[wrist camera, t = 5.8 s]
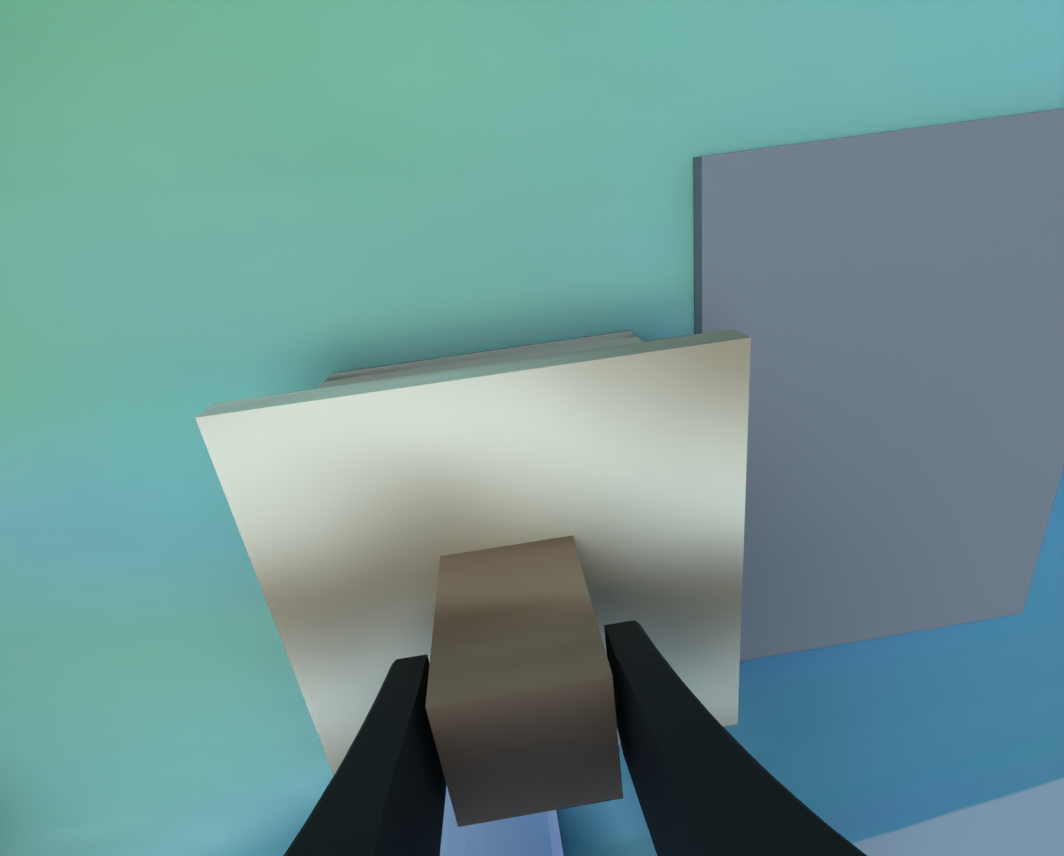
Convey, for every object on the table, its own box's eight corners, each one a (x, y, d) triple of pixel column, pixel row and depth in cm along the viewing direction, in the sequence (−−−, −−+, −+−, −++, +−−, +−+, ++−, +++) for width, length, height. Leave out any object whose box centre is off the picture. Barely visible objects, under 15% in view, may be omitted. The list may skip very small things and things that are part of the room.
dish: (642, 571, 20) (691, 681, 16) (397, 611, 20) (374, 735, 15) (629, 330, 17) (688, 380, 12) (331, 373, 16) (276, 442, 12)
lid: (725, 700, 16) (819, 888, 12) (347, 764, 16) (297, 984, 11) (733, 328, 12) (886, 407, 7) (213, 403, 11) (49, 533, 7)
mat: (1008, 603, 23) (1021, 613, 22) (696, 655, 22) (702, 667, 22) (1145, 98, 16) (1169, 94, 15) (693, 158, 15) (702, 156, 15)
